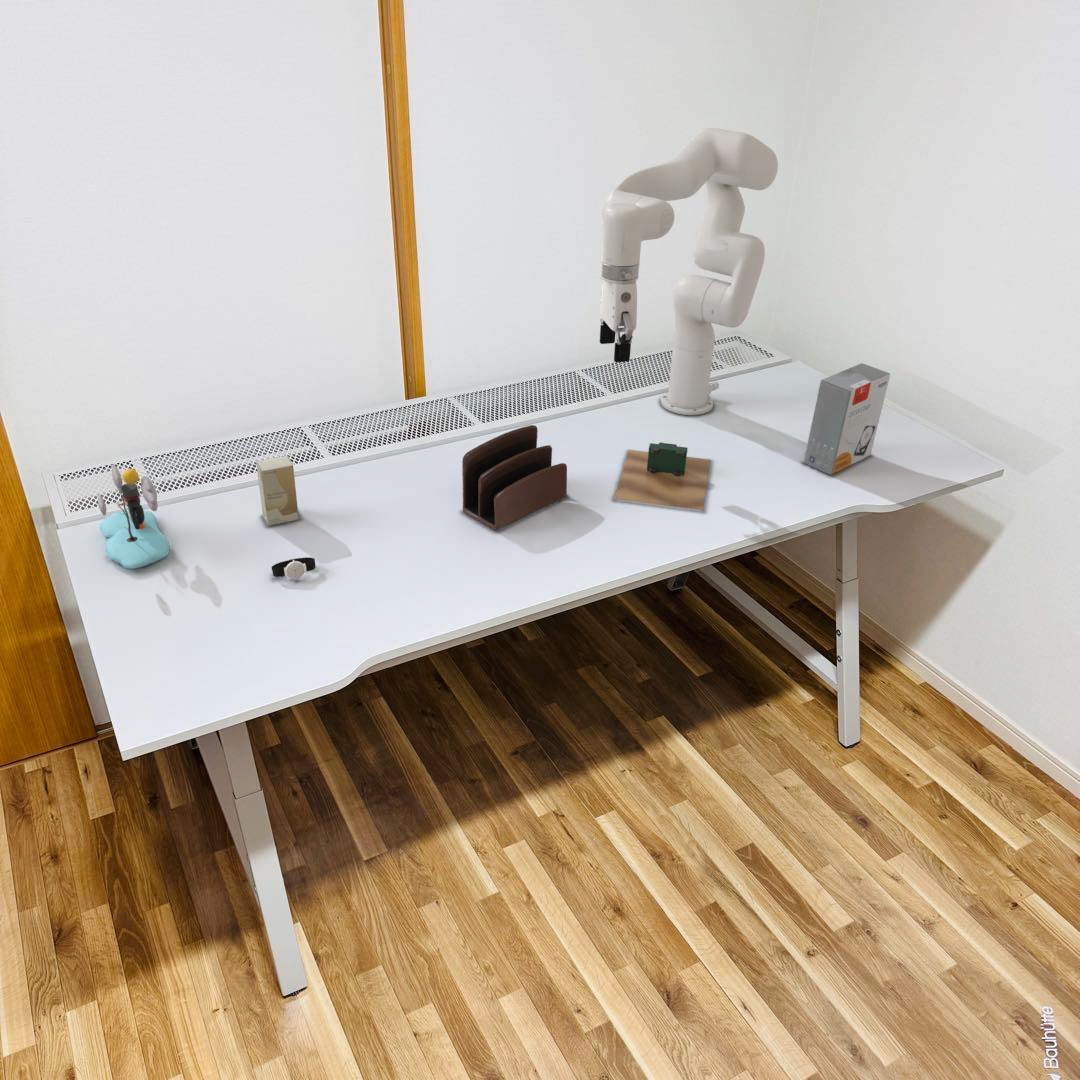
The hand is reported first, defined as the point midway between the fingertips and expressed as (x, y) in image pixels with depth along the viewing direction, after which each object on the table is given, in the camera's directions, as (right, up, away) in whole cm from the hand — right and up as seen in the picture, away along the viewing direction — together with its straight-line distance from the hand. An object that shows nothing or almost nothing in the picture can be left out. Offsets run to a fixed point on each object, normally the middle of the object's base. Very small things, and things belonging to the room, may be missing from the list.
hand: (614, 352), depth 203 cm
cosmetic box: (-66, -34, -10) cm, 75 cm away
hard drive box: (+51, -21, +16) cm, 57 cm away
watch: (-59, -45, -26) cm, 79 cm away
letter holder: (-20, -32, -4) cm, 38 cm away
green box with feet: (+12, -24, +9) cm, 28 cm away
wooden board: (+11, -26, +6) cm, 29 cm away
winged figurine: (-91, -39, -19) cm, 101 cm away
